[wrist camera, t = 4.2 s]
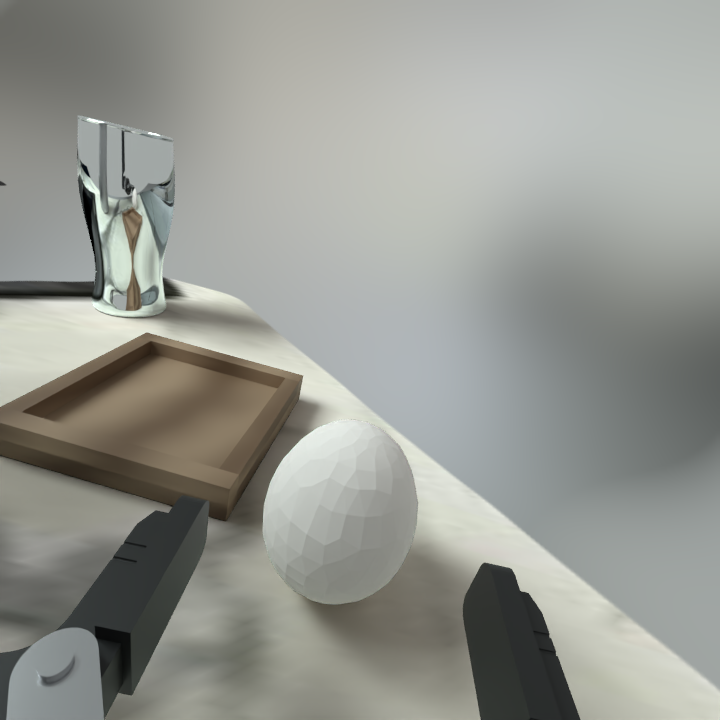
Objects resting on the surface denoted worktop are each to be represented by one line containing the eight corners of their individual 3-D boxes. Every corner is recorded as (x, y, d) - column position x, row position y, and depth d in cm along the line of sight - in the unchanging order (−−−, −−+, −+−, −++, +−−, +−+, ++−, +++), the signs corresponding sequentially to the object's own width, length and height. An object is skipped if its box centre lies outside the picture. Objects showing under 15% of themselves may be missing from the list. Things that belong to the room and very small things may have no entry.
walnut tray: (-12, 451, 19) (-20, 417, 18) (146, 356, 30) (146, 332, 29) (225, 521, 18) (229, 489, 18) (298, 399, 29) (303, 375, 29)
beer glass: (114, 288, 40) (109, 121, 34) (183, 303, 41) (190, 142, 35) (67, 308, 34) (50, 109, 28) (149, 326, 35) (150, 134, 28)
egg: (220, 578, 16) (239, 424, 13) (310, 496, 21) (340, 372, 18) (343, 683, 14) (402, 527, 11) (411, 564, 19) (465, 434, 16)
